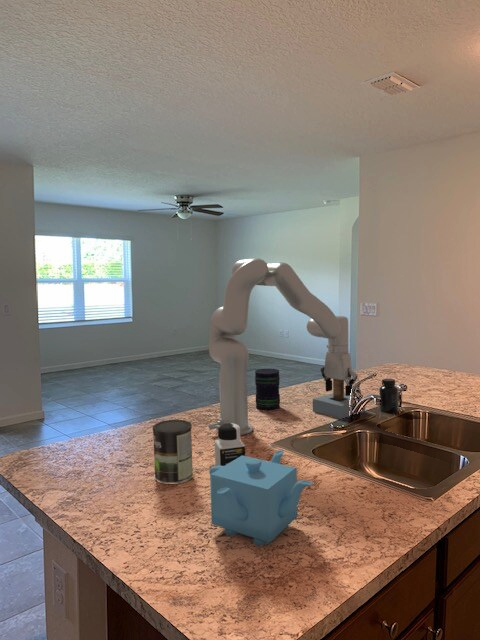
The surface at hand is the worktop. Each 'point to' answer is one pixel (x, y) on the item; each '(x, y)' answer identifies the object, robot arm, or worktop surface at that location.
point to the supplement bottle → (389, 396)
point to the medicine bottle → (228, 444)
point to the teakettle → (255, 497)
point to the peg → (338, 390)
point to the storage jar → (267, 389)
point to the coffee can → (173, 451)
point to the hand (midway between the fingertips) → (338, 392)
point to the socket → (332, 406)
